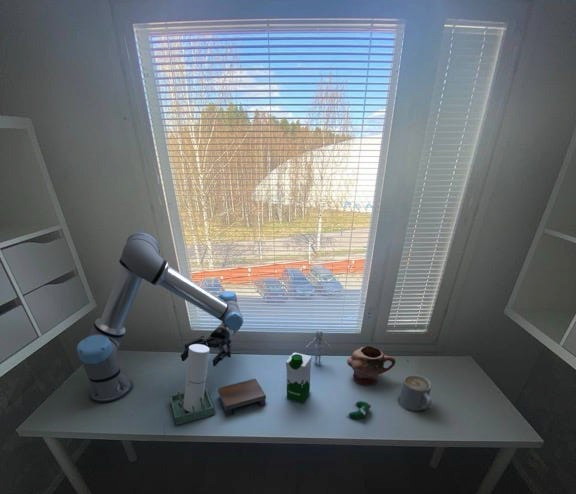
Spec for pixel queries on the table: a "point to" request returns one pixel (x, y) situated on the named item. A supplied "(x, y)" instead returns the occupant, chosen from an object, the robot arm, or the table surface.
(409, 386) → the coffee mug
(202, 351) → the cylindrical container
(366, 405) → the green curved piece
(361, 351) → the clay jug
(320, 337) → the human figurine
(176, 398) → the drying rack
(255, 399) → the brown slab
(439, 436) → the table surface
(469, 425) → the table surface
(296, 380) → the milk carton
